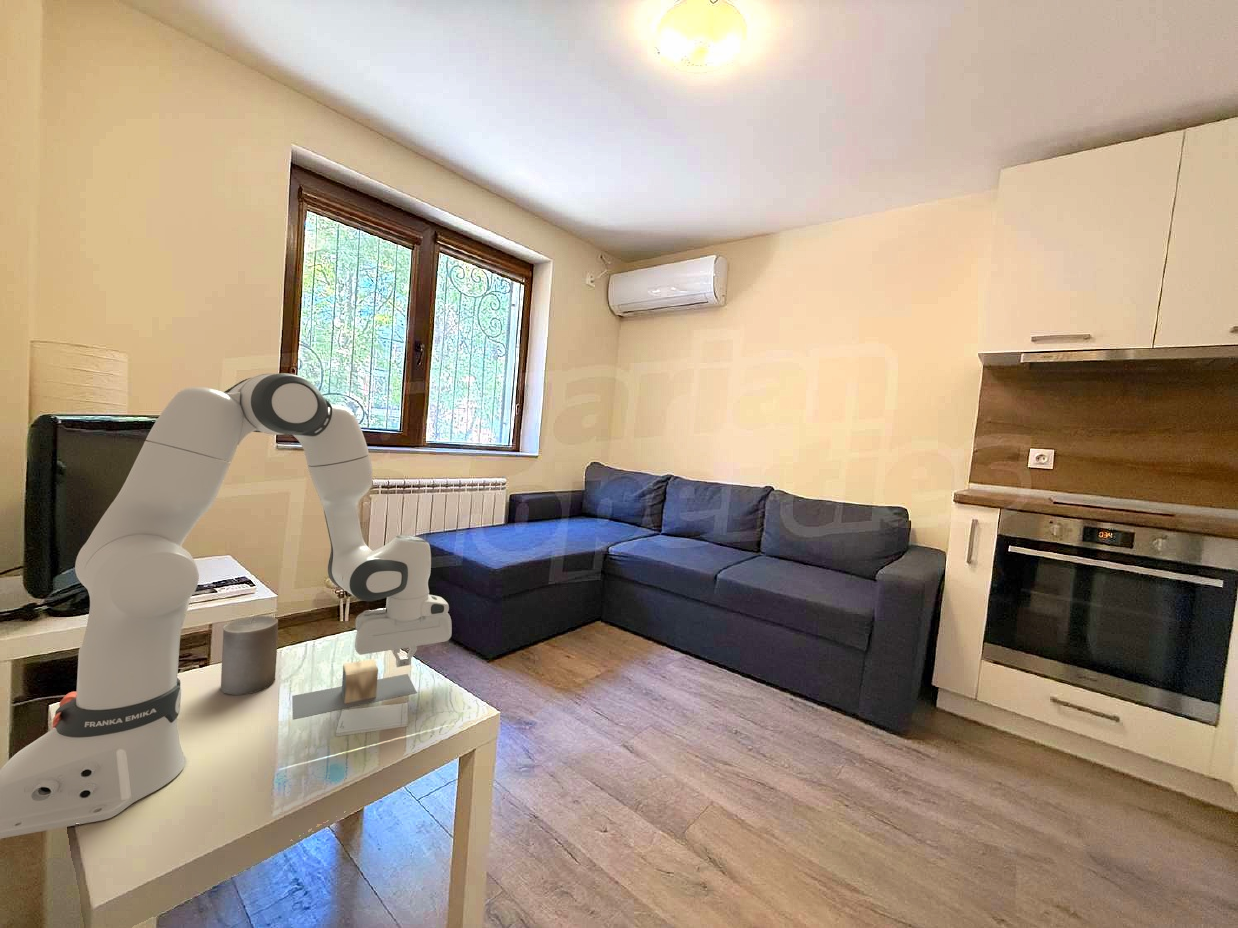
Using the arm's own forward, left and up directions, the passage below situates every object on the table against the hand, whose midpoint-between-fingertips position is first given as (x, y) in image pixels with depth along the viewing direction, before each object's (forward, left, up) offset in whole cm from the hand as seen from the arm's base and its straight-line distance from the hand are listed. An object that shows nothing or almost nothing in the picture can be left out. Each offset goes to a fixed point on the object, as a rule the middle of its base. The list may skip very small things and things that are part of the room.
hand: (403, 665), depth 109 cm
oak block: (-6, 0, -2) cm, 6 cm away
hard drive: (-7, -12, -6) cm, 15 cm away
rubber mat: (-9, 0, -5) cm, 10 cm away
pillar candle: (-29, +15, -5) cm, 33 cm away
